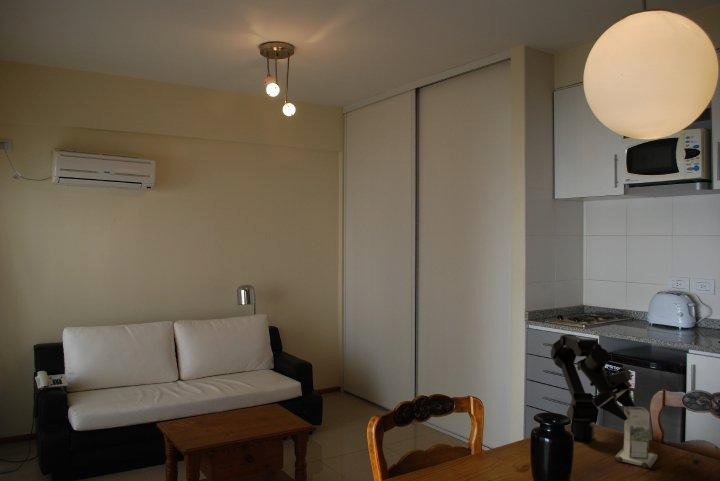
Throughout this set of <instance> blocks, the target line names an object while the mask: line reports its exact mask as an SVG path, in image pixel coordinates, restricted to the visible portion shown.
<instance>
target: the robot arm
mask: <svg viewBox="0 0 720 481" xmlns="http://www.w3.org/2000/svg"><path fill="white" fill-rule="evenodd" d="M577 357H580V358H581V357H585V358H582V359H580V360H579V361H577V362H576V365H577V367H576V365H575V361H576V359H577ZM550 358H551V359H552V360H553V363H554V364H555V366H557V367H558V368H560V369H561V371H562V374H563V377H564V380H565V382H566V383H565V384H566V385H567V388H568V391H569V393H570V396H571V397H570V398H571V401H570V404H569V406H568V408H567V411H566V418H567V417H568V418H570V419H571V420H572V423H571V422H570V433H571V432H572V433H573V435H574V440H573V441H576V442H581V443H585V444H589V443H590V442H592V441H593V440H594V439H595V426H593V423H594V424H597V421H598V417H599V413H600V412H599V410H604V411H605V412H608V413H610V414H612V415H613V416H616V418H617V417H618V418H619V419H621V420H622V421H624V420H627V419H628V418H627V416H626V415H625V413H624V410H623V409H622V407H621V406H620V405H622V406H623V407H637V406H636V404H635V402H634V400H633V397H632V394H631V392H632V390H633V389H632V386H633V385H632V384H631V383H630V381H632V380H633V378H632V371H630V370H629V369H627V368H626V367H625V366H623V367H620V368H618V370H617V371H618V372H615V373H612V372H611V371H609V370H608V371H607V370H605V369H604V368H605V366H606V365H608V363H609V362H610V359H611V355H610V354H609V352H608V351H607V350H606V349H605V348H603V347H602V344H600V343H599V342H598V340H597V339H595V338H593V339H592V338H591V339H589V338H588V339H587V338H585V339H584V338H580V337H578V336H576V334H575V335H574V334H562V335H560V337H559V339H558V340H556V341H555V342H554V343H553V344H552V347H551V350H550ZM578 371H581V372H582V373H583V374H584V376H586V378H587V379H588V380H589V382H590V383H589V385H590V387H595V389H596V390H597V391H598V392H599V393H598V394H597V395H595V396H594V395H593V394H592V393H591V392H589V393H588V392H586V390H585V388H584V386H583V383H582V381H581V378H580V375H579V372H578ZM619 404H620V405H619ZM599 408H600V409H599Z"/></svg>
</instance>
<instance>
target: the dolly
mask: <svg viewBox="0 0 720 481" xmlns="http://www.w3.org/2000/svg"><path fill="white" fill-rule="evenodd" d="M657 459H658V454H656V452H654V451H650V452H649V456H648V459H645V458H629V456H628V455H627V454H626V453H625V452H624V447H622V448H621V449H620V451H618V452H617V454H616V455H615V456H614V460H615V461H617V463H622V462H623V463H628V464H631V465H636V466H641V467H642V468H644V469H647V468H650V469H651V468H652V466H653V465H654V464H655V462H656V460H657Z"/></svg>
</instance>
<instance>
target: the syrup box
mask: <svg viewBox="0 0 720 481" xmlns="http://www.w3.org/2000/svg"><path fill="white" fill-rule="evenodd" d="M623 408H624V410H623V412H624V413H625V415H626V416H627V418H628V419H627V420H623V448H624V452H625V453H626V454H627V455H628V456H629V458H645V459H648V456H649V453H650V452H649V448H650V447H649V446H650V415H651V414H650V412H649V411H648V410H647V409H646V408H645V407H643V406H636V407H625V406H623Z"/></svg>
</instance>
